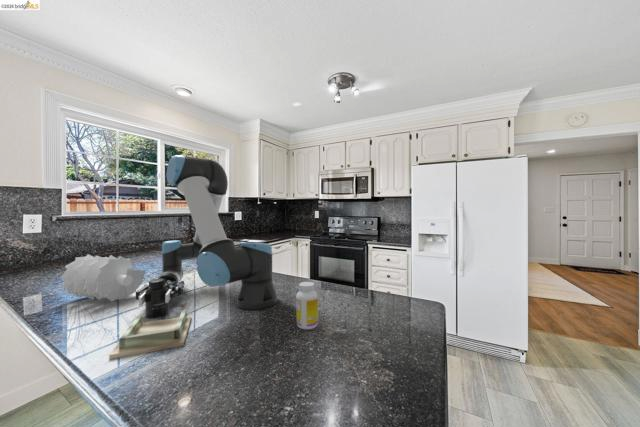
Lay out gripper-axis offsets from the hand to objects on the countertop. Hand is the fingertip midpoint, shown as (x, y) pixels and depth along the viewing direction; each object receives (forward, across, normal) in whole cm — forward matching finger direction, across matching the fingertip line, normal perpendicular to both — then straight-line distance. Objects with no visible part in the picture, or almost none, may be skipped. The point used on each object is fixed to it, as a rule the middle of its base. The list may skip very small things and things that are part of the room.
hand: (153, 300), depth 83 cm
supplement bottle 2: (+22, -45, -7) cm, 51 cm away
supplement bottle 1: (-5, 0, -7) cm, 8 cm away
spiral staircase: (-33, +25, -7) cm, 42 cm away
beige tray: (+12, -3, -7) cm, 14 cm away
